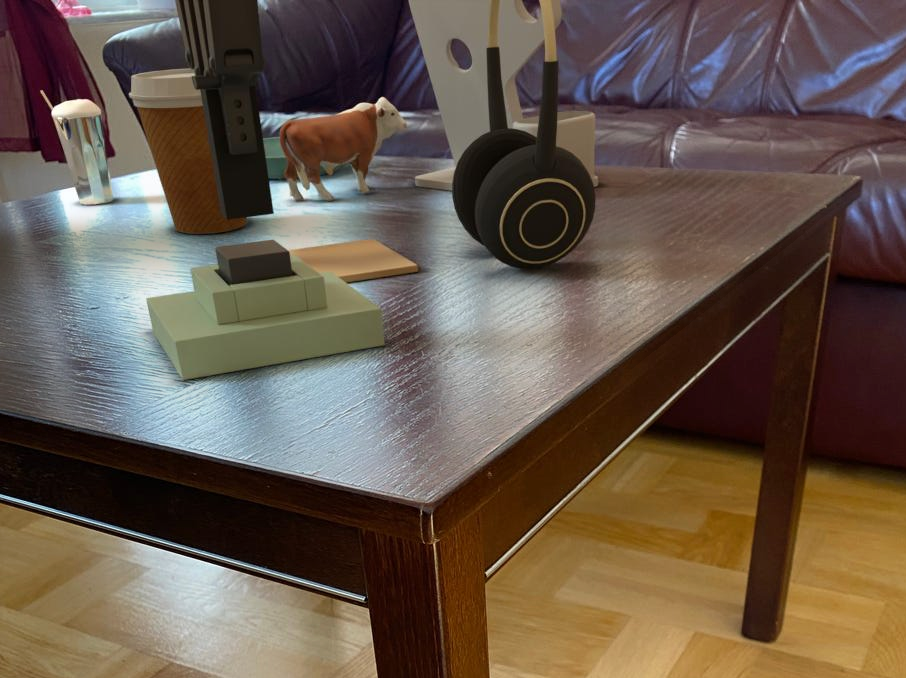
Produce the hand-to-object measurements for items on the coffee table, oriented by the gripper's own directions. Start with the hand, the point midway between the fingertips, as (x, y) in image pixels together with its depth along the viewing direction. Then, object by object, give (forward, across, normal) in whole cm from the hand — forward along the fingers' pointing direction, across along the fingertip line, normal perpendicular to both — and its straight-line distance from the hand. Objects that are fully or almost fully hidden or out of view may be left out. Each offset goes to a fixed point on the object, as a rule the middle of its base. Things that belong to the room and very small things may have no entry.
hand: (247, 214), depth 58 cm
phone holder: (+7, +37, -34) cm, 51 cm away
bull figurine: (+7, +42, -19) cm, 47 cm away
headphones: (+7, +9, -22) cm, 25 cm away
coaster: (+7, +15, -9) cm, 19 cm away
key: (+4, 0, 0) cm, 4 cm away
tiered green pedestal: (+7, 0, 0) cm, 7 cm away
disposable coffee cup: (+7, +35, -4) cm, 36 cm away
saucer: (+7, +59, -18) cm, 62 cm away
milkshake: (+7, +54, +4) cm, 55 cm away
